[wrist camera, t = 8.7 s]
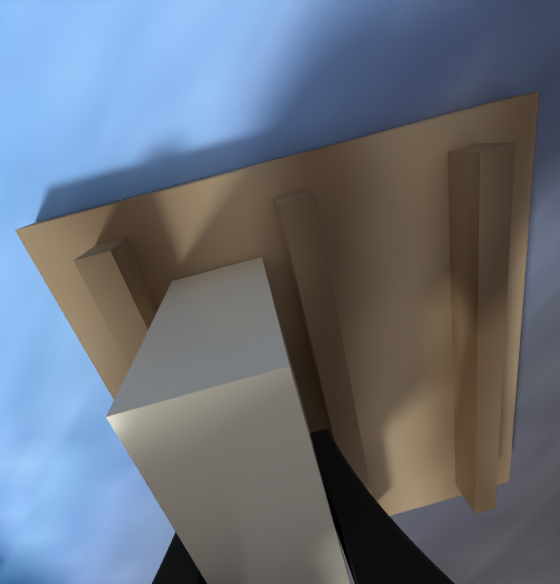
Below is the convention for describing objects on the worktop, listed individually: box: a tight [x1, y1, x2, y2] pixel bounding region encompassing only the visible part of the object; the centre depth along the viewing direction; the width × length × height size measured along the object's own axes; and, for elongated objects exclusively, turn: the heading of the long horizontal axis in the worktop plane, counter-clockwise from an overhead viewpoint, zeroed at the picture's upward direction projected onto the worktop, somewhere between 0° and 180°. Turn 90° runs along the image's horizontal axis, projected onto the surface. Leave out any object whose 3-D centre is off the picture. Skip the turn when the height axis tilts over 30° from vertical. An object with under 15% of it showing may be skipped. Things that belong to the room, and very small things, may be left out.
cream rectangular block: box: [106, 257, 351, 584], centre depth 10 cm, size 3×12×6 cm, turn 14°
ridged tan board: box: [15, 92, 539, 516], centre depth 13 cm, size 16×18×2 cm
